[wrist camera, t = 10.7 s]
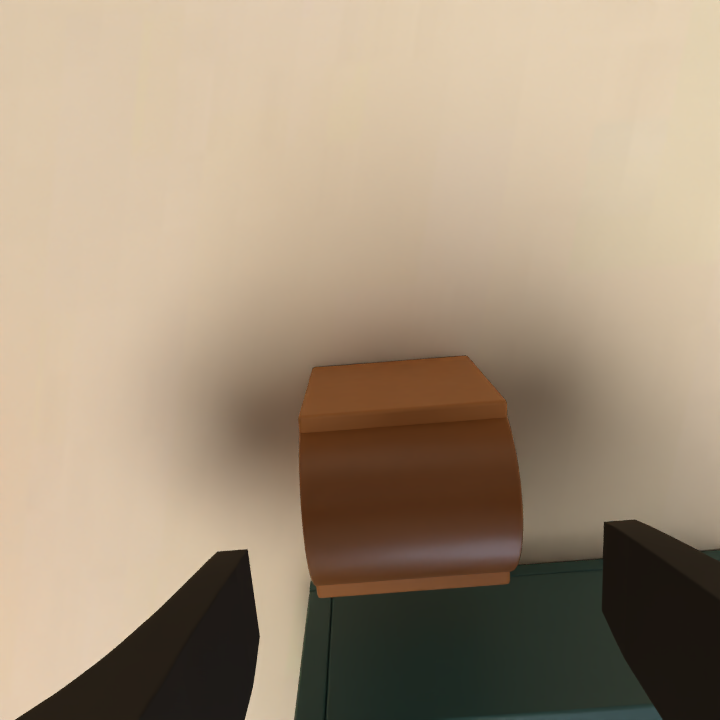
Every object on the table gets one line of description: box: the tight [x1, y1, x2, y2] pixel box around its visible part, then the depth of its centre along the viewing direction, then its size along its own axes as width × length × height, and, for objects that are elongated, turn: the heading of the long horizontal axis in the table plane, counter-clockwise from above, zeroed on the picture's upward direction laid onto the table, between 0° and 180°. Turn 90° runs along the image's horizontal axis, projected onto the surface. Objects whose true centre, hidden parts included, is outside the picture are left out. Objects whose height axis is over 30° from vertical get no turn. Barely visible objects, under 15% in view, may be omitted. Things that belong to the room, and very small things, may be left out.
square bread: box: [298, 356, 523, 598], centre depth 16 cm, size 5×5×6 cm
